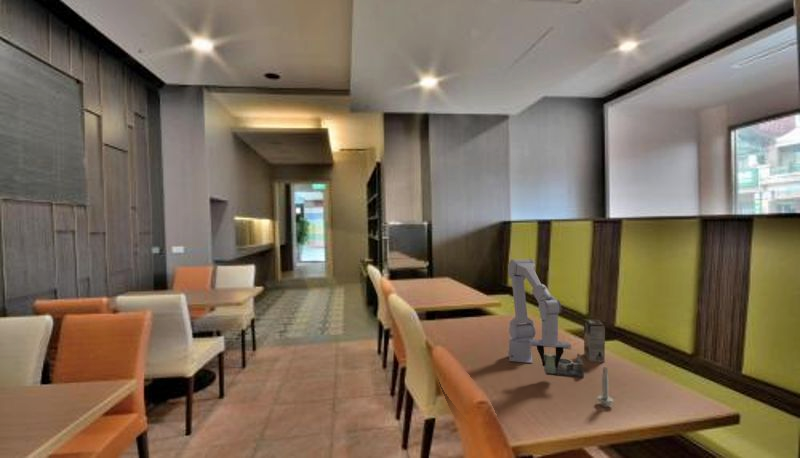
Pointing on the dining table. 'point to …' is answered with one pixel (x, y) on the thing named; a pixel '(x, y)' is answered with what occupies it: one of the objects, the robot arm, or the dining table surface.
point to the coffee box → (594, 340)
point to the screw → (605, 391)
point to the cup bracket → (570, 367)
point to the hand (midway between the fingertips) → (549, 365)
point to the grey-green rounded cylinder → (550, 363)
